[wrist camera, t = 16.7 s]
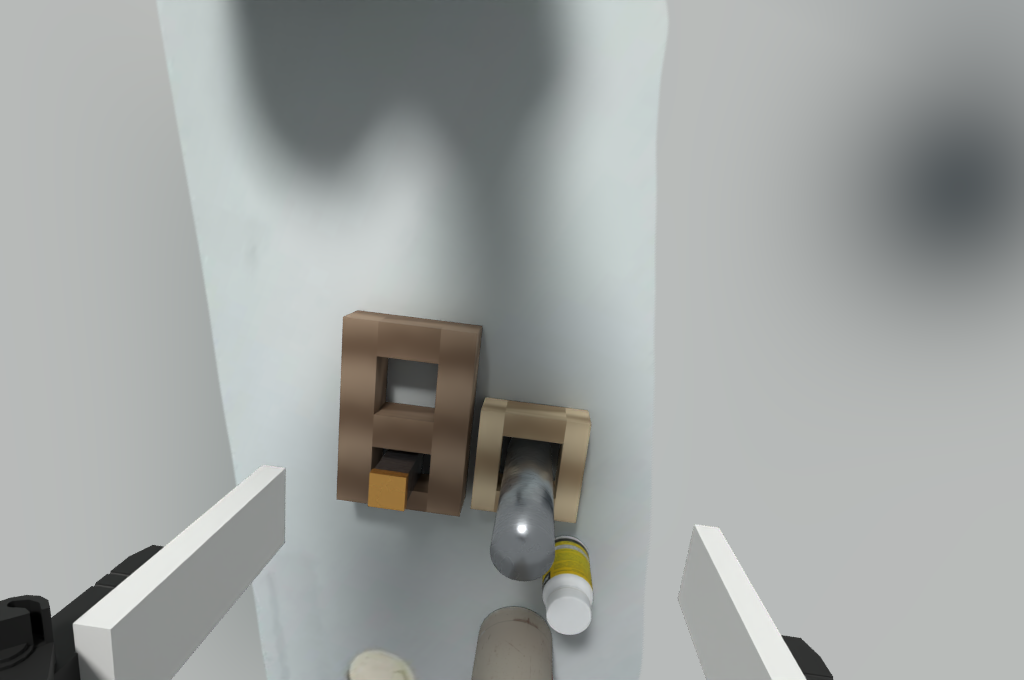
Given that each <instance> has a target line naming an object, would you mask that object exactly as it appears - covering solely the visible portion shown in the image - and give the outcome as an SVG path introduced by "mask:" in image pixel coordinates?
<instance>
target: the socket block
mask: <svg viewBox="0 0 1024 680" xmlns="http://www.w3.org/2000/svg"><path fill="white" fill-rule="evenodd" d="M481 335H482V326H479V325H471V324H463V323H455V322H447V321H439V320H431V319H422V318H414V317H406V316H398V315H390V314H382V313H374V312H366V311H355V312H353V313H351V314H349V315H346V316H344V317H343V333H342V361H341V389H340V417H339V445H338V473H337V499H338V500H345V501H352V502H359V503H366V504H368V493H369V474H370V472H371V470H372V469H375V467H376V466H377V464H378V463H379V462H380V460H381V459H382V457H383V448H386V449H394V450H401V451H408V452H416V453H423V454H431V461H430V474H423V473H421V475H420V477H419V479H418V481H417V483H416V485H415V487H414V489H413V491H412V493H411V495H410V497H409V499H408V501H407V505H406V508H405V509H409V510H416V511H423V512H431V513H438V514H445V515H452V516H460V513H461V509H462V506H463V503H464V499H465V494H466V484H467V474H468V464H469V454H470V444H471V434H472V424H473V414H474V405H475V395H476V385H477V375H478V365H479V355H480V345H481ZM388 358H395V359H403V360H410V361H418V362H426V363H434V364H438V376H437V388H436V400H435V408H430V407H422V406H415V405H407V404H399V403H392V402H386V388H387V370H388Z"/></svg>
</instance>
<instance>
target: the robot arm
mask: <svg viewBox="0 0 1024 680" xmlns="http://www.w3.org/2000/svg"><path fill="white" fill-rule="evenodd" d="M285 480H286V468H283V467H276V466H268V465H262V466H260V467H259V468H258V469H257V470H256V471H254V472H253V473H252V474H251V475H250V476H248V477H247V478H246V479H245V480H244V481H243V482H241V483H240V484H239V485H238V486H237V487H235V488H234V489H233V490H232V491H231V492H229V493H228V494H227V495H226V496H225V497H223V498H222V499H221V500H220V501H219V502H218V503H216V504H215V505H214V506H213V507H211V508H210V509H209V510H208V511H207V512H205V513H204V514H203V515H202V516H201V517H199V518H198V519H197V520H196V521H195V522H193V524H191V525H190V526H189V527H187V528H186V529H185V530H184V531H183V532H182V533H180V534H179V535H178V536H177V537H176V538H174V539H173V540H172V541H171V542H170V543H168V544H167V545H166V546H165V547H162V546H156V545H152V546H150V547H148V548H146V549H144V550H142V551H140V552H137V553H135V554H133V555H132V556H129V557H128V558H127V559H125V560H124V561H123V562H122V563H121V564H119V565H118V566H117V567H115V568H114V569H113V570H112V571H111V573H110V574H107V575H105V576H104V577H103V578H102V579H100V580H99V581H98V582H96V584H95V586H94V587H93V586H91V587H90V588H89V589H87V590H86V591H85V592H84V593H82V594H81V595H80V596H79V597H77V598H76V599H75V600H74V601H72V602H71V603H70V604H68V605H67V606H66V607H65V608H63V609H62V610H61V611H60V612H58V613H57V614H56V615H54V616H53V617H52V618H51V613H50V606H49V602H48V600H47V599H45V598H43V597H41V596H33V595H24V596H19V597H13V598H8V599H6V600H2V601H0V680H171V679H172V678H173V677H174V676H175V674H176V673H177V672H178V671H179V670H180V668H181V667H182V666H183V665H184V664H185V662H186V661H187V660H188V659H189V657H190V656H191V655H192V654H193V653H194V651H195V650H196V649H197V648H198V646H200V644H201V643H202V642H203V641H204V639H205V638H206V637H207V636H208V635H209V633H210V632H211V631H212V630H213V629H214V627H215V626H216V625H217V624H218V623H219V621H220V620H221V619H222V618H223V617H224V615H225V614H226V613H227V612H228V611H229V609H230V608H231V607H232V606H233V604H234V603H235V602H236V601H237V600H238V598H239V597H240V596H241V595H242V594H243V592H244V591H245V590H246V589H247V588H248V586H249V585H250V584H251V583H252V582H253V580H254V579H255V578H256V577H257V576H258V574H259V573H260V572H261V571H262V570H263V568H264V567H265V566H266V565H267V564H268V562H269V561H270V560H271V559H272V558H273V556H274V555H275V554H276V553H277V551H278V550H279V549H280V548H281V547H282V545H283V544H284V543H285ZM678 601H679V604H680V607H681V610H682V613H683V615H684V618H685V621H686V624H687V627H688V630H689V632H690V635H691V638H692V641H693V644H694V646H695V649H696V652H697V655H698V658H699V660H700V663H701V666H702V669H703V672H704V675H705V678H706V680H833V676H832V674H831V673H830V671H829V670H828V668H827V667H826V665H825V663H824V662H823V660H822V659H821V657H820V656H819V655H818V654H817V653H816V652H815V651H814V650H812V649H811V648H810V647H809V646H808V645H807V644H806V643H805V642H804V641H803V640H802V639H801V638H796V637H790V636H783V635H780V633H779V631H778V629H777V628H776V626H775V624H774V622H773V621H772V619H771V617H770V615H769V614H768V612H767V610H766V609H765V607H764V605H763V603H762V602H761V600H760V598H759V596H758V595H757V593H756V591H755V590H754V588H753V586H752V585H751V582H750V581H749V579H748V577H747V576H746V574H745V572H744V570H743V569H742V567H741V565H740V563H739V562H738V560H737V558H736V556H735V555H734V553H733V551H732V549H731V548H730V546H729V544H728V543H727V541H726V539H725V538H724V536H723V534H722V532H721V530H720V529H719V528H718V527H711V526H704V525H696V524H694V528H693V532H692V536H691V541H690V546H689V550H688V555H687V559H686V564H685V568H684V573H683V578H682V582H681V587H680V591H679V596H678Z"/></svg>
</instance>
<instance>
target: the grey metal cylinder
mask: <svg viewBox="0 0 1024 680" xmlns="http://www.w3.org/2000/svg"><path fill="white" fill-rule="evenodd" d="M490 555H491V559H492V562H493V564H494V566H495V567H496V568H497V570H498V571H499V572H500V573H502V574H503V575H505V576H506V577H508V578H510V579H513V580H517V581H531V580H535V579H537V578H540V577H541V576H543V575H544V574H546V573H547V572H548V571H549V569H550V568H551V566H552V565H553V562H554V559H555V535H554V502H553V469H552V447H551V444H550V442H545V441H538V440H530V439H523V438H515V437H513V438H512V439H511V440H510V442H509V445H508V449H507V455H506V461H505V467H504V473H503V478H502V484H501V490H500V496H499V501H498V507H497V513H496V519H495V524H494V530H493V536H492V542H491V548H490Z"/></svg>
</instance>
